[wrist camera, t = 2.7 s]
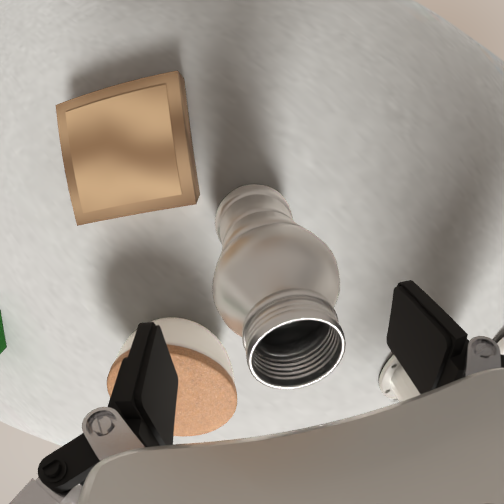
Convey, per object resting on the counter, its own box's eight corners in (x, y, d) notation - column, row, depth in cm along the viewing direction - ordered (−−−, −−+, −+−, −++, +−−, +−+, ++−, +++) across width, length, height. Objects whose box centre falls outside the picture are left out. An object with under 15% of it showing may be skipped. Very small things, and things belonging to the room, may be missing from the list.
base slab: (199, 194, 28) (195, 204, 24) (93, 213, 28) (76, 226, 24) (184, 79, 24) (177, 70, 20) (75, 107, 23) (54, 105, 20)
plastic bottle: (204, 197, 28) (169, 325, 10) (271, 168, 28) (363, 243, 9) (232, 256, 31) (247, 428, 12) (295, 229, 30) (391, 371, 12)
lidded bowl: (229, 293, 32) (232, 365, 22) (237, 378, 37) (242, 449, 27) (116, 299, 31) (81, 365, 21) (141, 380, 36) (125, 447, 26)
